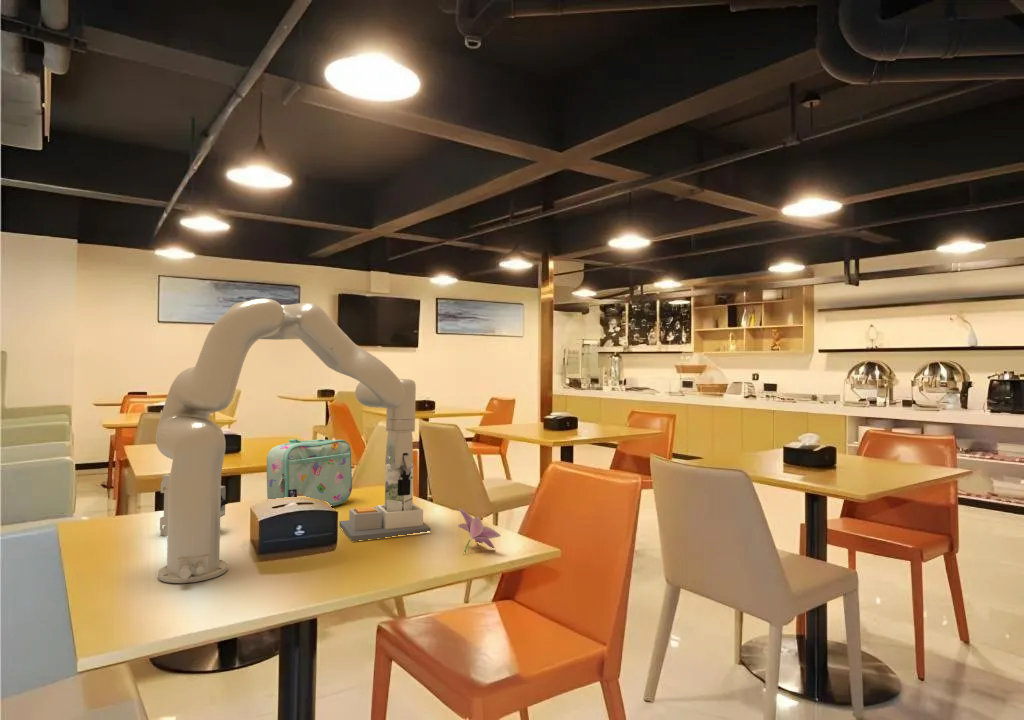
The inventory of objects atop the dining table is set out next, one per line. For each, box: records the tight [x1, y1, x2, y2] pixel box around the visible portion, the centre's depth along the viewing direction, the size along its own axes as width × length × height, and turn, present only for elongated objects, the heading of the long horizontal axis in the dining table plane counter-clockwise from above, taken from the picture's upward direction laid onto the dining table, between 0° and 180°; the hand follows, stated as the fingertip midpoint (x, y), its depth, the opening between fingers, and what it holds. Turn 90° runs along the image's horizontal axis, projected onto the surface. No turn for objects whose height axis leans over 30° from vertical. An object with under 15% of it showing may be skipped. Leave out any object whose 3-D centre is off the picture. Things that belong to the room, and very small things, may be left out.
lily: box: [457, 507, 502, 553], centre depth 143 cm, size 12×12×10 cm
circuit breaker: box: [159, 473, 229, 537], centre depth 156 cm, size 8×14×15 cm, turn 89°
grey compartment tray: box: [338, 502, 432, 542], centre depth 161 cm, size 16×20×6 cm
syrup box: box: [384, 462, 414, 512], centre depth 163 cm, size 6×6×14 cm
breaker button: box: [354, 506, 376, 514], centre depth 159 cm, size 4×4×4 cm
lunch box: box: [266, 438, 353, 507], centre depth 184 cm, size 27×10×21 cm, turn 150°
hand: (399, 491), depth 163 cm, fingers closed on syrup box, 8 cm apart
